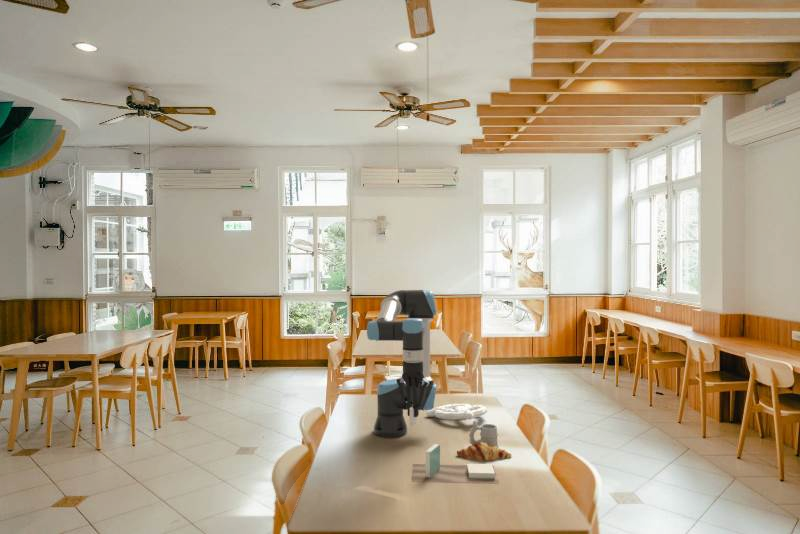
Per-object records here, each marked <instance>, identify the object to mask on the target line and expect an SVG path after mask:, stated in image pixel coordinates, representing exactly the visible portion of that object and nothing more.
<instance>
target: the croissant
mask: <svg viewBox="0 0 800 534" xmlns="http://www.w3.org/2000/svg"><path fill="white" fill-rule="evenodd" d="M456 455H457V456H458V457H460V458H464V459H467V460H474V461H479V462H493V461H496V460H503V459H510V458H512V457H513V456H512V453H510V452H508V451H507V450H505V449H501V448H500V447H499V448H498V447H496V445H495V446H490V447H489V446H488V445H487V444H486V443H483V442H476V443H475V444H474V445H473V446H472V445H469V446H468V447H467V448H462V449H460V450H457V451H456Z"/></svg>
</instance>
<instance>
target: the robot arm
mask: <svg viewBox="0 0 800 534" xmlns="http://www.w3.org/2000/svg"><path fill="white" fill-rule="evenodd" d="M398 316H408V318H404V319H403V320H402V321H400V320H399V321H397V317H398ZM434 316H435V317H436V316H437V306H436V300H435V294H434V291H432V290H427V289H413V290H412V289H409V290H408V289H407V290H406V289H403V290H402V289H401V290H396V291H393V292H392V293H391V292H390V293H389V294H388V295H386V296H385V297H384V298H383V299H382V301H381V303H380V310H379V313H378V316H377V318H376V320H370V321H368V322H367V324H366V325H367V326H366V336H367V339H368V340H369V341H375V342H379V341H383V342H384V341H385V342H386V341H387V342H389V341H394V342H395V341H396V342H397V341H398V342H399V341H400V342H402V360H403V361H402V374H401V377H398V378H392V379H387V380H383V381H381V382H379V383H378V385H377V392H376V396H377V417H376V419H375V423H374V426H373V433H374V434H375V436H378V437H381V438H397V437H402V436H405V435H406V434H407V433H408V426H407V423H406V420H405V417H404V411H407V416H408V417H409V427H415V426H417V419H418V418H417V417H419V411H423V412H425V411H428V410H432V409H433V408H435V407H434V406H435V400H436V393H437V384H436V383H435V382H434V379H433V378H432V377H431V323H432V322H433V320H434Z"/></svg>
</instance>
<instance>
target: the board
mask: <svg viewBox="0 0 800 534" xmlns="http://www.w3.org/2000/svg"><path fill="white" fill-rule="evenodd" d="M492 466H493V469H494V472H495V479H469V476H468V471H467V464H440V470H439V471H438V472H437V473H436V474H435V475H433V476H432V477H431V478H430V477H426V463H423V464H421V463H418V464H415V463H414V464H412V471H411V472H412V473H411V482H412V483H441V484H442V483H446V484H447V483H448V484H449V483H452V484H453V483H454V484H494V485H499V484H500V482H499V479H498V475H497V473H496V469H495V465H492Z"/></svg>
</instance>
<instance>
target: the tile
mask: <svg viewBox="0 0 800 534" xmlns="http://www.w3.org/2000/svg"><path fill="white" fill-rule="evenodd" d="M425 464H426V477H430V478H431V477H432V476H433V475H435V474H436V473H437V472H438V471H439V470H440V465H441V445H440V444H438V443H435V444H433V445H432V446H431V447H429V448H428V449H427V450H425Z"/></svg>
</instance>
